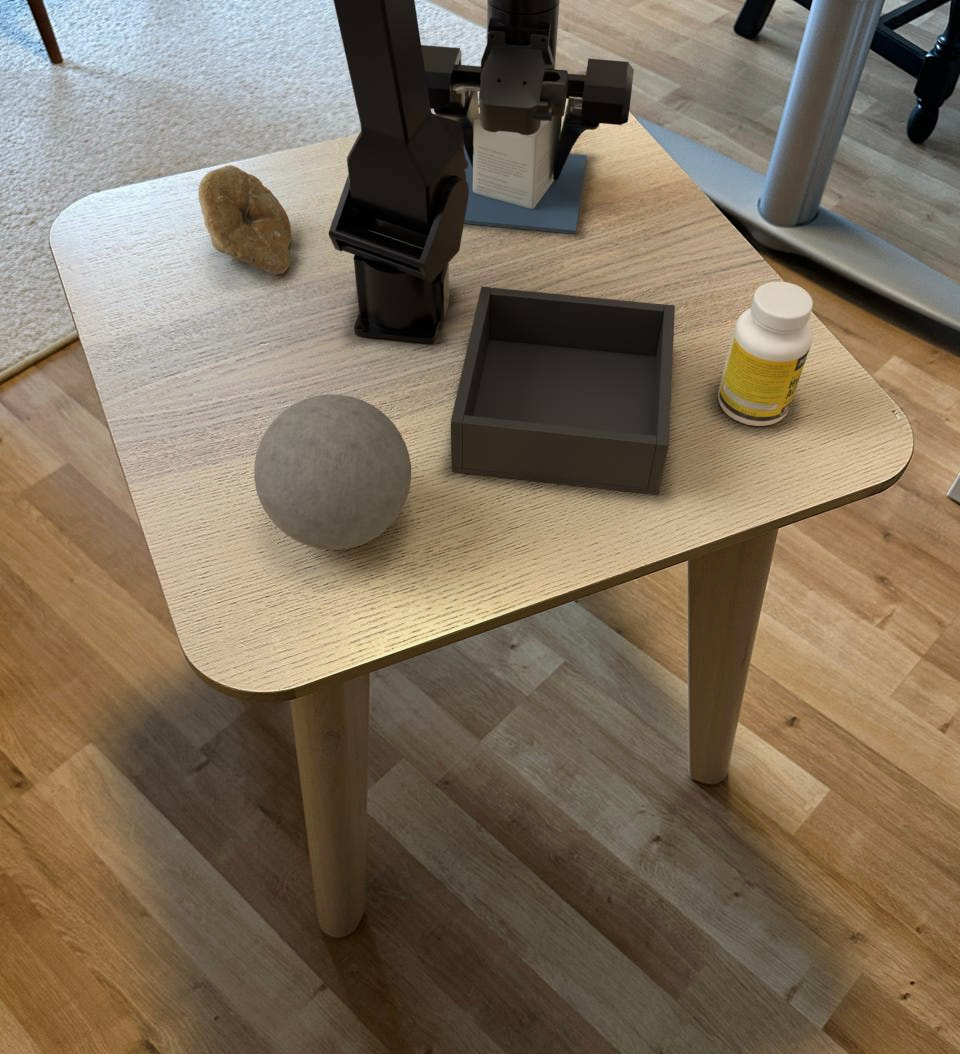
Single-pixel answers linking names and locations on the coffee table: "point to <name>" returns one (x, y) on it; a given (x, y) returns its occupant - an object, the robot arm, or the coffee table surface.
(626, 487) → the bin
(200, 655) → the coffee table surface
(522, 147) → the product carton
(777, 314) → the supplement bottle
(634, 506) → the coffee table surface
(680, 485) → the coffee table surface
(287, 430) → the decorative ball
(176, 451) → the coffee table surface
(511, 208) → the mat
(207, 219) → the fossil
